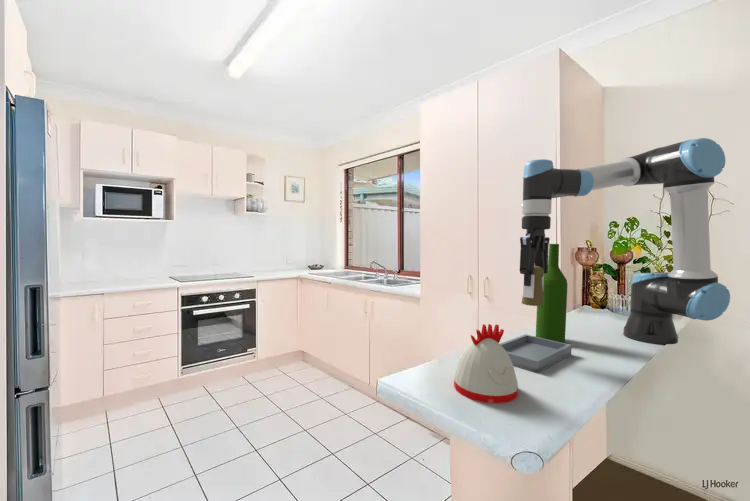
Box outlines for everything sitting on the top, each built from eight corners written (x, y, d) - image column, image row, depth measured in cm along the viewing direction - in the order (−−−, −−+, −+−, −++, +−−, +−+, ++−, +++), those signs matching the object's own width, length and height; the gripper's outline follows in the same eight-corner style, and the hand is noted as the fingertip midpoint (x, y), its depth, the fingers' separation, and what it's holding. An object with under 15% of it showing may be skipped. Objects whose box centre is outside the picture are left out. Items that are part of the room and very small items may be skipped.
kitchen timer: (531, 399, 77) (534, 330, 76) (475, 407, 73) (477, 334, 72) (492, 374, 90) (494, 315, 89) (443, 379, 86) (445, 318, 86)
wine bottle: (559, 336, 124) (563, 243, 123) (569, 344, 116) (573, 244, 114) (532, 335, 126) (536, 243, 124) (539, 342, 117) (543, 244, 116)
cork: (546, 306, 100) (548, 267, 99) (523, 305, 101) (525, 266, 100) (541, 302, 105) (542, 265, 105) (519, 301, 107) (521, 264, 106)
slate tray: (525, 343, 116) (525, 334, 116) (571, 354, 106) (571, 344, 106) (488, 358, 102) (488, 347, 102) (537, 373, 91) (537, 361, 91)
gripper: (537, 217, 111) (534, 291, 112) (507, 214, 99) (504, 297, 100) (563, 216, 105) (559, 294, 106) (534, 213, 93) (531, 301, 94)
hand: (533, 296), depth 103 cm, fingers closed on cork, 5 cm apart
